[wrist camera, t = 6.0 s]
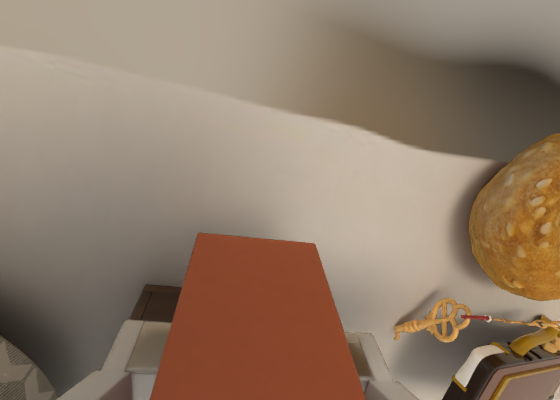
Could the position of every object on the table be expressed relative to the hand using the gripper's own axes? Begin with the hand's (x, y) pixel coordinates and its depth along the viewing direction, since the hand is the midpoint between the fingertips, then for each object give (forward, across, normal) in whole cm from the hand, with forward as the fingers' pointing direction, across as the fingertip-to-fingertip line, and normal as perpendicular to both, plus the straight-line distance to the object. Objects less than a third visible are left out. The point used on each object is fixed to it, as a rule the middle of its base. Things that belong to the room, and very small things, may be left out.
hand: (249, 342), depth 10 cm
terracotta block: (+3, 0, 0) cm, 3 cm away
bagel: (+10, -18, -1) cm, 21 cm away
